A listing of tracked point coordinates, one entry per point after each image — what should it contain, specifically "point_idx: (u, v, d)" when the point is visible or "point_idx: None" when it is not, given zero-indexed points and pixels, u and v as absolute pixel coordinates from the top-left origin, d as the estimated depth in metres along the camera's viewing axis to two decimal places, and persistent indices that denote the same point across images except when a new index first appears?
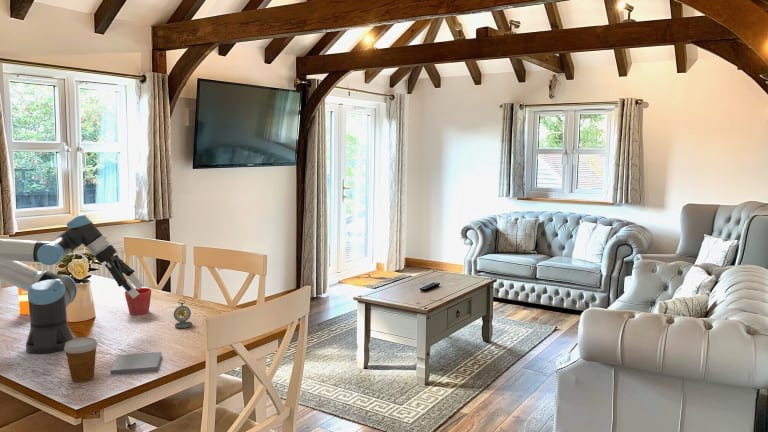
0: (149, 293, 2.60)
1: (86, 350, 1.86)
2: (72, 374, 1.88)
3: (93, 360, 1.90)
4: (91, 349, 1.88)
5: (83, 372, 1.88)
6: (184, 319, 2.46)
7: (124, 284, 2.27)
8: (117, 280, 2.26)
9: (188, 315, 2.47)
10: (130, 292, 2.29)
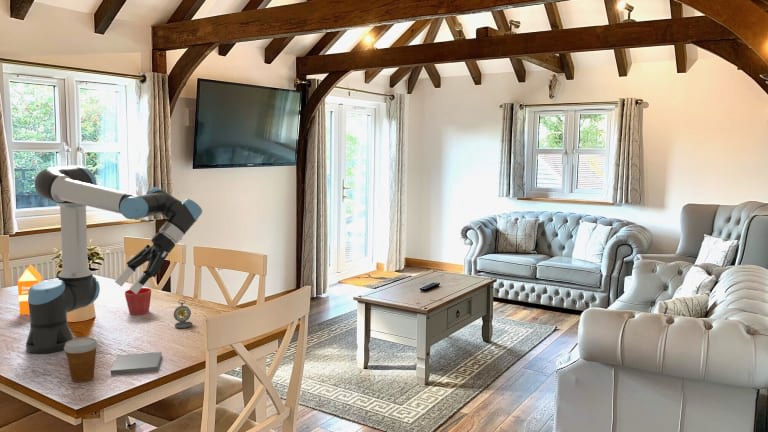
0: (149, 293, 2.60)
1: (86, 350, 1.86)
2: (72, 374, 1.88)
3: (93, 360, 1.90)
4: (91, 349, 1.88)
5: (83, 372, 1.88)
6: (184, 319, 2.46)
7: (147, 276, 1.97)
8: (153, 269, 1.97)
9: (188, 315, 2.47)
10: (137, 284, 1.97)
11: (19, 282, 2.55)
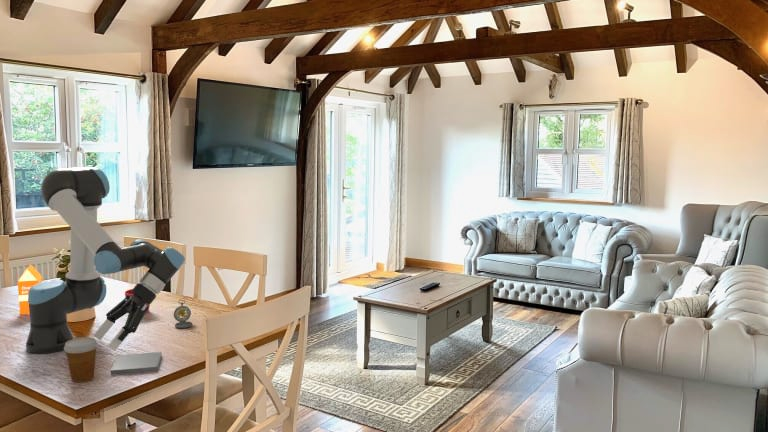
0: None
1: (86, 350, 1.86)
2: (72, 374, 1.88)
3: (93, 360, 1.90)
4: (91, 349, 1.88)
5: (83, 372, 1.88)
6: (184, 319, 2.46)
7: (127, 332, 1.89)
8: (132, 324, 1.89)
9: (188, 315, 2.47)
10: (115, 341, 1.88)
11: (19, 282, 2.55)
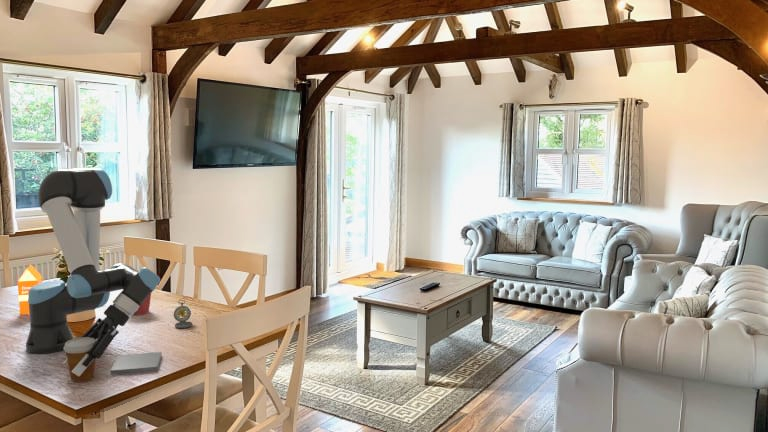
0: None
1: (85, 350, 1.86)
2: (72, 374, 1.88)
3: (93, 360, 1.90)
4: None
5: None
6: (184, 319, 2.46)
7: (91, 358, 1.86)
8: (98, 350, 1.86)
9: (188, 315, 2.47)
10: (80, 366, 1.85)
11: (19, 282, 2.55)
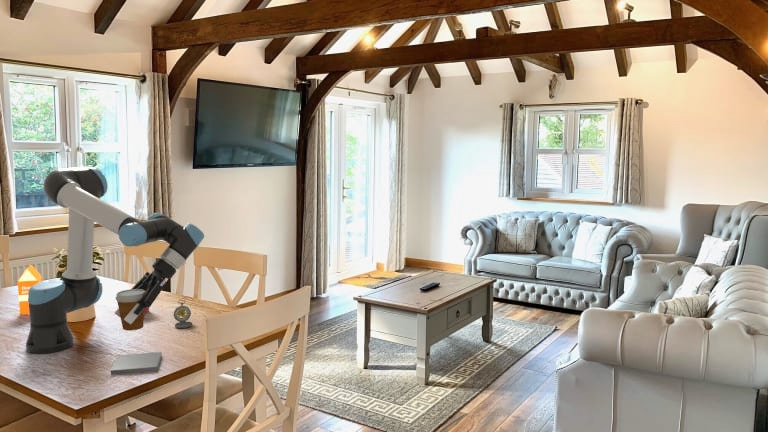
0: None
1: (136, 299, 1.95)
2: (123, 323, 1.97)
3: (143, 310, 1.99)
4: None
5: (133, 321, 1.97)
6: (184, 319, 2.46)
7: (142, 307, 1.95)
8: (148, 299, 1.95)
9: (188, 315, 2.47)
10: (131, 314, 1.94)
11: (19, 282, 2.55)
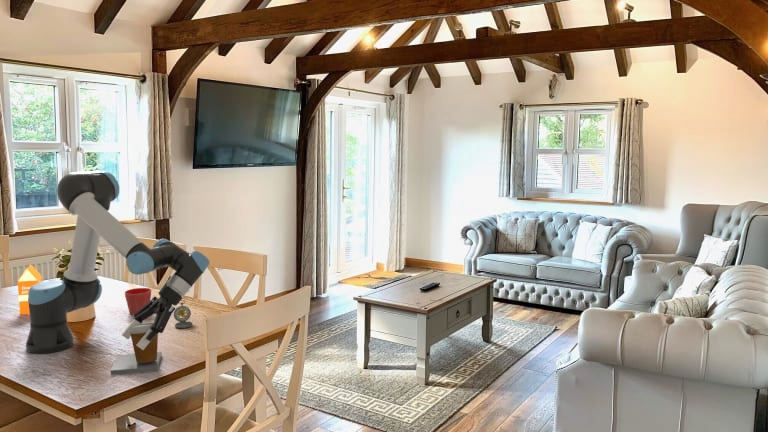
0: (149, 293, 2.60)
1: None
2: (137, 355, 1.98)
3: (156, 341, 2.00)
4: None
5: (147, 352, 1.97)
6: (184, 319, 2.46)
7: (154, 332, 1.96)
8: (160, 325, 1.96)
9: (188, 315, 2.47)
10: (144, 340, 1.95)
11: (19, 282, 2.55)
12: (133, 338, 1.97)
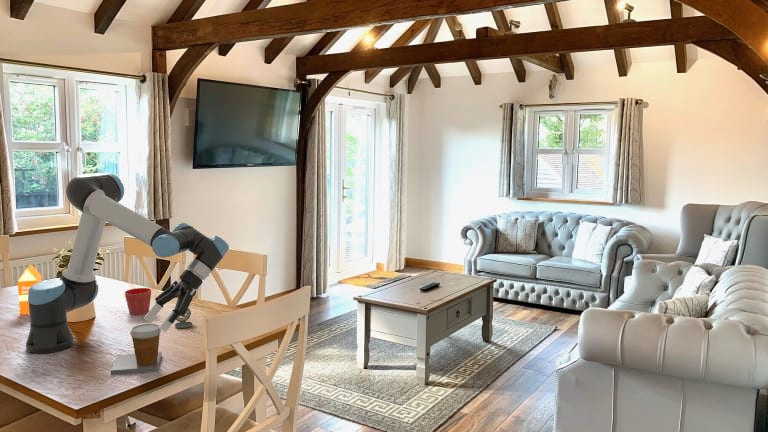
0: (149, 293, 2.60)
1: (151, 335, 1.96)
2: (138, 358, 1.97)
3: (157, 345, 1.99)
4: (156, 334, 1.97)
5: (148, 357, 1.97)
6: (184, 319, 2.46)
7: (177, 315, 2.00)
8: (182, 307, 2.00)
9: (188, 315, 2.47)
10: (166, 323, 1.99)
11: (19, 282, 2.55)
12: (135, 342, 1.96)
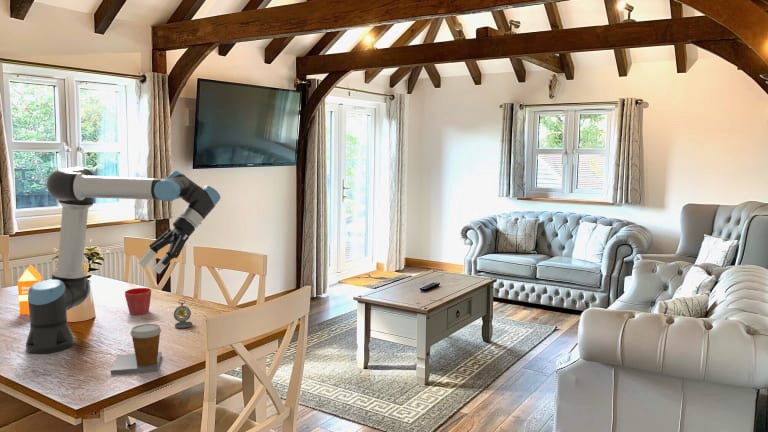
0: (149, 293, 2.60)
1: (152, 335, 1.96)
2: (138, 358, 1.97)
3: (157, 345, 2.00)
4: (156, 334, 1.97)
5: (148, 356, 1.97)
6: (184, 319, 2.46)
7: (170, 257, 2.10)
8: (175, 250, 2.10)
9: (188, 315, 2.47)
10: (160, 265, 2.09)
11: (19, 282, 2.55)
12: (135, 342, 1.96)
